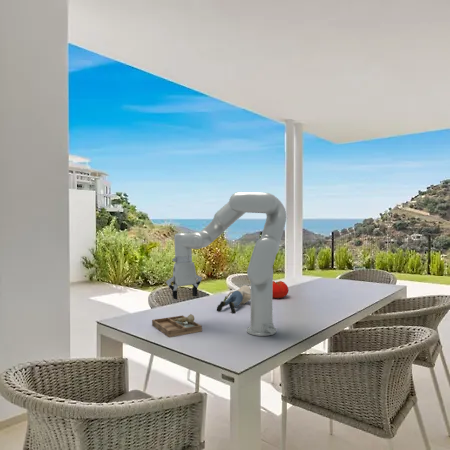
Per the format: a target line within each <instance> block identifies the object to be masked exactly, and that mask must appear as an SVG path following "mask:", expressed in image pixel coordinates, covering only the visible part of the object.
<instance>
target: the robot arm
mask: <svg viewBox="0 0 450 450" xmlns="http://www.w3.org/2000/svg"><path fill="white" fill-rule="evenodd" d="M228 200H229V201H228V202H227V203H226V204H224V206H222V207H221V208H220V209H219V210H217V211H216V212H215V214H214V215H213V219H212V220H211V221H210V222H209V224H207V225H206V226H205V227H204V228H203V229H202V230H201V231H195V232H190V233H189V232H178V233H175V234H174V254H175V255H174V258H172V262H174V264H173V270H172V277H170V278H169V279H167V280H166V281H165V283H166V285H167V286H168V288H169V289H170V290H171V291H172V294H171V295H172V298H173V299H174V300H178V290H177V289H178V288H179V287H184V286H191V285H192V296H193V297H198V287H199V285H201V281H202V279H203V277H202V276H200V275H197V272H196V270H197V269H196V265H195V262H193V255H192V249H195V250H199V249H203V248H206V247H208V246H209V245H210V244H212V243H214V241H215V240H216V239H218V238H219V237H220V236H221V235H222V234H223V233H225V231H227V230H228V229H229V227H231V226H232V225H233V224H234V223H235V222H236V221H238V220H239V219H240V218H242V216H243V215H245V214H246V213H247V214H265V215H266V218H265V223H264V226H263V230H262V233H261V236H260V238H259V239H257V241H256V242H255V243H254V247H253V250H252V253H251V256H250V260H249V264H248V266H247V271H246V273H247V278H248V280H249V282H250V289H251V296H250V300H249V301H250V326H249V327H247V328H246V332H247V334H249V335H252V336H258V337H266V336H267V337H268V336H273V335H275V334H276V333H277V329H278V328H276V327H274V326H275V325H274V324H275V323H274V322H273V297H272V296H273V281H274V268H273V267H274V264H275V260H276V256H277V254H278V253H279V250H280V246H281V240H282V237H283V235H284V230H285V225H286V222H287V212H286V208H285V206H284V204H283V203H282V201H281V200H280V199H279V198H277V196H275V195H274V194H272V193H269V192H252V191H251V192H249V191H245V192H244V191H237V192H234V193H232V194H231V195H230V197H229V199H228ZM172 283H173V285H172Z"/></svg>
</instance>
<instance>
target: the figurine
mask: <svg viewBox="0 0 450 450" xmlns="http://www.w3.org/2000/svg"><path fill="white" fill-rule="evenodd" d="M184 317H185V318H182V317H178V318H176V319H175V320H173V321H179V322H182V324H183V326H184V323H183V322H188V324H190V323H189V322H193V321H194V322H195V316H194V315H193V314H191V313H190V314H188V315H187V316H184Z"/></svg>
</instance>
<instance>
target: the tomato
mask: <svg viewBox="0 0 450 450" xmlns="http://www.w3.org/2000/svg"><path fill="white" fill-rule="evenodd" d="M288 294H289V287H288V285H287V283H285V282H284V281H283V280H279V281H274V280H273V296H272V299H282V298H285V297H286V296H287V295H288Z"/></svg>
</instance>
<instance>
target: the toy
mask: <svg viewBox="0 0 450 450" xmlns="http://www.w3.org/2000/svg"><path fill="white" fill-rule="evenodd" d="M250 296H251V286H249V285H246V284H245V285H242V286H240V288H238V289H236V290H232V291H229V292H228V294H227V295H226V296H224V299H223V301H220V303H219V304H217V306H216V311H217V312H218V313H219V312H220V313H221V312H222V310H223V307H227V306H228V305H229V308H230V313H232V314H235V313H236V307H239V305H245V304H246V303H247V302H249V301H250Z"/></svg>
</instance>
